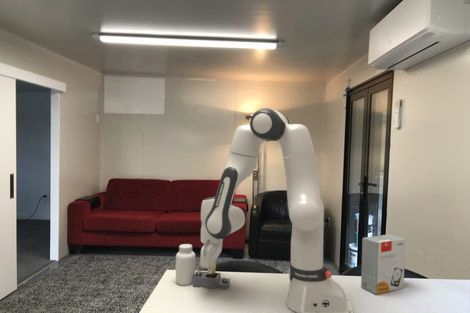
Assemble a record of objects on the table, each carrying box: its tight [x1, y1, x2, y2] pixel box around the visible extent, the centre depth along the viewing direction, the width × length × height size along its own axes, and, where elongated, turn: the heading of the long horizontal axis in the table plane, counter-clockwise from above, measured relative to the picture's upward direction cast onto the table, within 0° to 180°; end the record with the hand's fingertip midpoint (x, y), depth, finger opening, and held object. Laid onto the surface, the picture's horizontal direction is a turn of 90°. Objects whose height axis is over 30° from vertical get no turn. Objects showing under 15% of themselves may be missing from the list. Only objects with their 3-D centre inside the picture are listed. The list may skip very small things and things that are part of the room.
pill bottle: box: [175, 243, 196, 286], centre depth 129 cm, size 8×8×15 cm
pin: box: [208, 261, 216, 278], centre depth 126 cm, size 3×3×8 cm
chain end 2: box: [202, 277, 231, 291], centre depth 125 cm, size 10×6×3 cm, turn 79°
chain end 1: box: [192, 270, 222, 288], centre depth 126 cm, size 10×6×5 cm, turn 79°
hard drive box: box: [360, 233, 406, 295], centre depth 123 cm, size 16×8×20 cm, turn 114°
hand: (211, 270), depth 126 cm, fingers closed on pin, 3 cm apart
